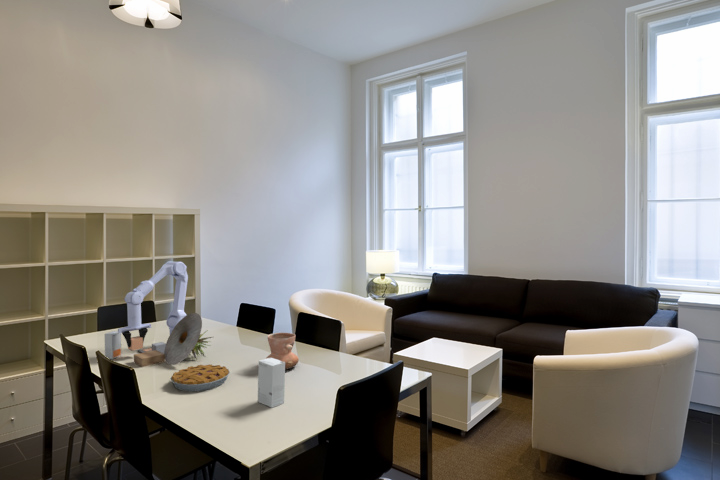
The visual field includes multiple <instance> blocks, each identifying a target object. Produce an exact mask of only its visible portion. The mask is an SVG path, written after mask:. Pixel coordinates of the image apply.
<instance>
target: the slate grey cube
mask: <svg viewBox="0 0 720 480" xmlns="http://www.w3.org/2000/svg"><path fill="white" fill-rule="evenodd" d="M166 343H167V342H166ZM166 343H165V342H163V341H159V342H155V343H151V347H152V351H154V350H157V351H159V352H161V353H163V354H164V351H165V346H166Z"/></svg>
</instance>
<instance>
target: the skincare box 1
mask: <svg viewBox="0 0 720 480" xmlns="http://www.w3.org/2000/svg"><path fill="white" fill-rule="evenodd" d="M105 356H106V357H108V358H109V359H108V360H114V359H116V358H119V357H121V356H122V333H118V330H113V331H109V332H107V333H104V357H105Z"/></svg>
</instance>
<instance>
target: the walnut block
mask: <svg viewBox="0 0 720 480" xmlns="http://www.w3.org/2000/svg"><path fill="white" fill-rule="evenodd" d="M165 362H166V360H165V354H163V353H161V352H159V351H157V350H154V351H149V352H144V353H140V352H138V353H135V354H133V363H135V364H136V365H137V366H139V367H141V368H143V367H149V366H153V365H157V364H163V363H165Z"/></svg>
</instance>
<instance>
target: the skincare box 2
mask: <svg viewBox="0 0 720 480" xmlns="http://www.w3.org/2000/svg"><path fill="white" fill-rule="evenodd" d="M266 358H267V357H266ZM266 358H264V359H259V360H258V370H257V371H258V372H257V375H258V376H257V378H258V379H257V402H258V404H259V403H260V404H263V405H264V406H267V407H269V408H275V407H277V406H280V405H282V404H285V389H286V388H285V386H286V385H285V383H286V382H285V381H286V379H285V377H286V370H285V362H282V361H280V360H277V359H274V358H267V359H266Z"/></svg>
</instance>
